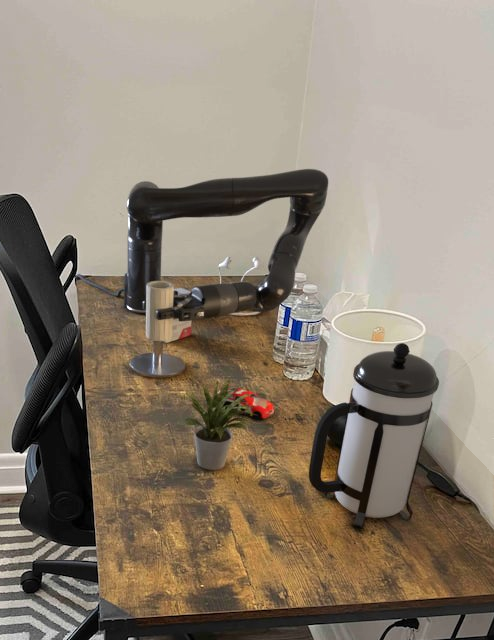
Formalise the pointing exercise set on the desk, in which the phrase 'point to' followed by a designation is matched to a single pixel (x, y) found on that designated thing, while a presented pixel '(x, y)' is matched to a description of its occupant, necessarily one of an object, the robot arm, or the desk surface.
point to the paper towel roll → (158, 298)
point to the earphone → (227, 265)
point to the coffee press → (378, 434)
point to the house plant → (215, 427)
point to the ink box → (180, 323)
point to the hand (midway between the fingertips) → (150, 310)
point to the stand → (157, 363)
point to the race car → (250, 403)
